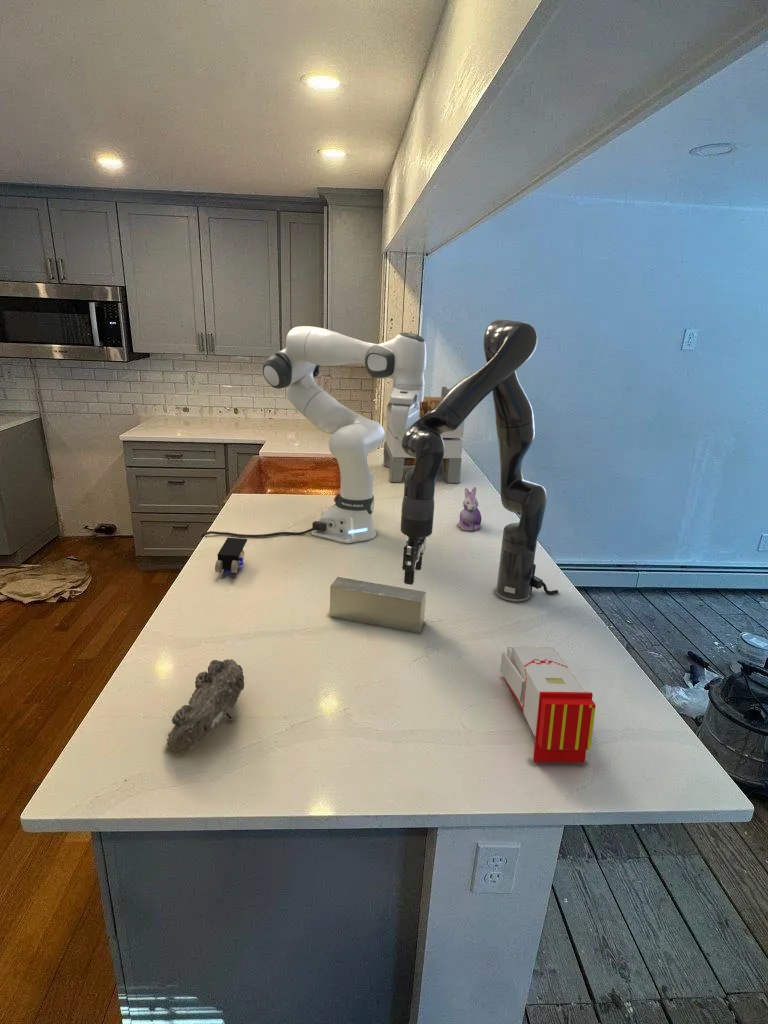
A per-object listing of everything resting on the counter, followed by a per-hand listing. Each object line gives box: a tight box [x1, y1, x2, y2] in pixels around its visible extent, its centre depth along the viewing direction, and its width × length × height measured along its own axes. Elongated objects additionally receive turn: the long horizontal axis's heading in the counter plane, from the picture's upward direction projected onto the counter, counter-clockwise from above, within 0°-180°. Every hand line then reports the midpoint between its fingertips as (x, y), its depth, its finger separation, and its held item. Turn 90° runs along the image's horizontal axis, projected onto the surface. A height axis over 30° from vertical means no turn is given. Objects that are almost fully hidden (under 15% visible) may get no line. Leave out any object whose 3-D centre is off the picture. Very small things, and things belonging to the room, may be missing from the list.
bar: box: [329, 576, 427, 634], centre depth 143 cm, size 24×6×9 cm, turn 74°
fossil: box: [166, 658, 245, 754], centre depth 106 cm, size 22×10×15 cm
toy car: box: [214, 537, 248, 578], centre depth 166 cm, size 7×8×15 cm
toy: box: [499, 645, 597, 764], centre depth 112 cm, size 12×13×30 cm
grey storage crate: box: [383, 386, 466, 484], centre depth 268 cm, size 34×33×41 cm
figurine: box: [458, 486, 482, 532], centre depth 206 cm, size 9×10×15 cm
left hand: (405, 442), depth 164 cm, fingers open, 8 cm apart
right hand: (412, 576), depth 138 cm, fingers open, 8 cm apart
